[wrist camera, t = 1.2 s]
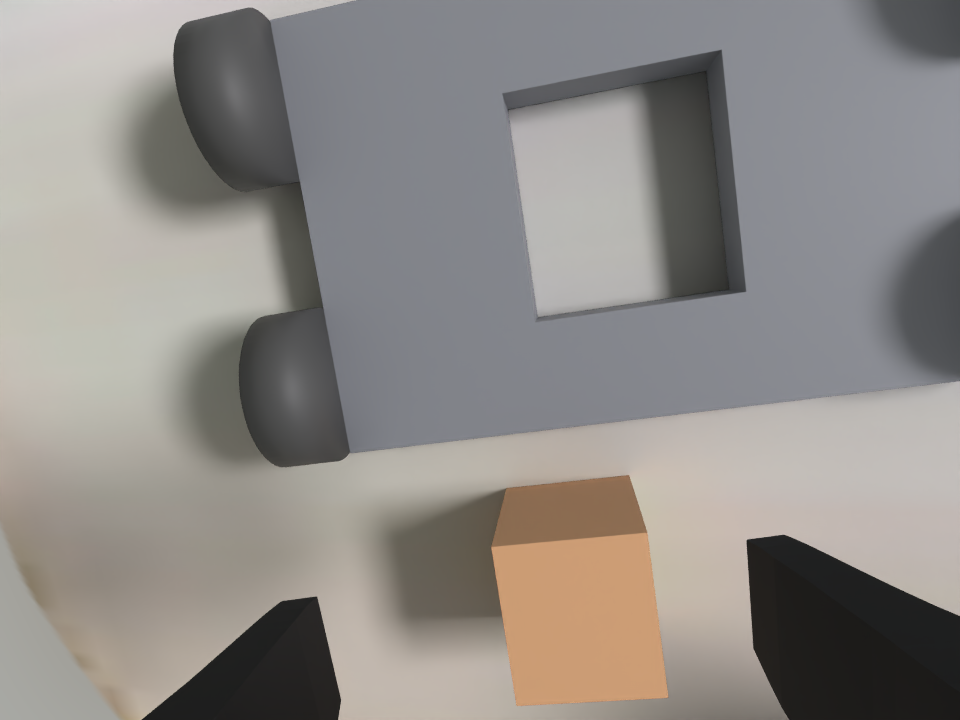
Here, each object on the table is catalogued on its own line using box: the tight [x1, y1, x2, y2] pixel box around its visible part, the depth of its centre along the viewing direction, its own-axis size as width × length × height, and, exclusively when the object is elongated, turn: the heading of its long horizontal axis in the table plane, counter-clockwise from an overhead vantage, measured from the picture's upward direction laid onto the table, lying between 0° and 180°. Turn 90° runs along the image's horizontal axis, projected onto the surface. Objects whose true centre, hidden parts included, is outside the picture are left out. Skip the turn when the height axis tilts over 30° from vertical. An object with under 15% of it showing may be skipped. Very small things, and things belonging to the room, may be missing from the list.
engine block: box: [491, 475, 668, 706], centre depth 21 cm, size 5×4×5 cm
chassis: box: [173, 0, 960, 467], centre depth 19 cm, size 14×24×5 cm, turn 99°
